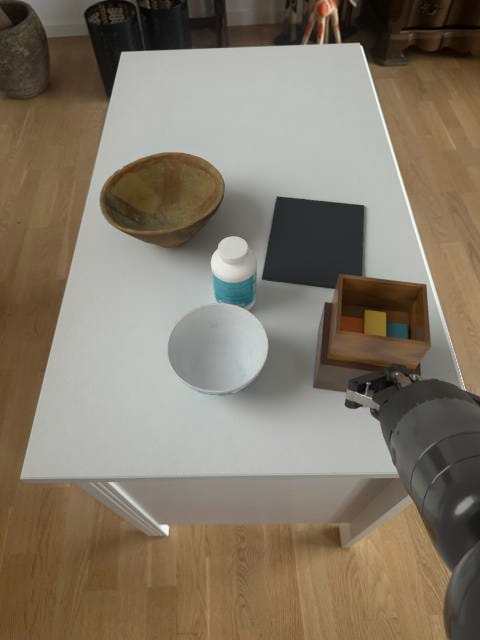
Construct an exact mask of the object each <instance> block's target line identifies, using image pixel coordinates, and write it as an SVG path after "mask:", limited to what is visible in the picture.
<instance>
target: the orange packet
mask: <svg viewBox="0 0 480 640" xmlns="http://www.w3.org/2000/svg"><path fill="white" fill-rule="evenodd" d="M340 330H341V331H348V332H356V333H363V319H362V318H354V317H346V316H341V324H340Z"/></svg>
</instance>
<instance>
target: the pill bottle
mask: <svg viewBox="0 0 480 640" xmlns="http://www.w3.org/2000/svg"><path fill="white" fill-rule="evenodd" d="M210 270H211V276H212V279H211V280H212V286H213V294H214V295H213V296H214V301H215V303H225V304H232V305H236V306H239V307H241V308H243V309H245V310H247V311H250V310H251V309H252V308H253V307H254V305H255V304H256V302H257V285H258V283H257V282H258V281H257V279H258V272H257V271H258V259H257V256H256V254H255V252H254V251H253V250H252V249H251V248H250V247H249V244H248V242H247V241H246V240H245V239H243V238H242V237H240V236H235V235H234V236H233V235H231V236H228V237H225V238H223V239H222V240H221V241H219V243H218V246H217V249H216V250H215V251H214V252H213V254H212V256H211V258H210Z"/></svg>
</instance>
